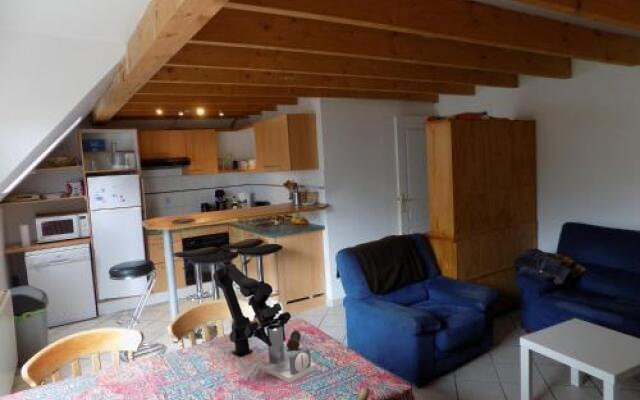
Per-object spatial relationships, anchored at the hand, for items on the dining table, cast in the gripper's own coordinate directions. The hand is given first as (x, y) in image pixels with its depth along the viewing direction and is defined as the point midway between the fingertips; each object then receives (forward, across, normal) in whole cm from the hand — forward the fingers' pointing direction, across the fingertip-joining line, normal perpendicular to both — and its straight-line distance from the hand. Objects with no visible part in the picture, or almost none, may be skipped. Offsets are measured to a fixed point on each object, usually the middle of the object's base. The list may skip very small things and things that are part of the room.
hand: (277, 343), depth 163 cm
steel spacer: (+4, 0, +6) cm, 7 cm away
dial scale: (+9, +6, +10) cm, 15 cm away
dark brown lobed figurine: (-5, +22, +24) cm, 33 cm away
